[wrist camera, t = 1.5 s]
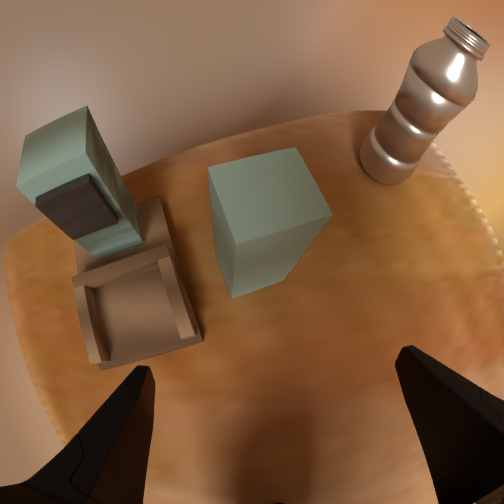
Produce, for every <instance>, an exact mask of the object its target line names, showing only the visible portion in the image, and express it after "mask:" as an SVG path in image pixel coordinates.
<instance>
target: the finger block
mask: <svg viewBox="0 0 504 504" xmlns="http://www.w3.org/2000/svg"><path fill="white" fill-rule="evenodd" d="M208 179H209V190H210V201H211V212H212V222H213V232H214V241H215V251H216V256H217V259H218V262H219V265H220V267H221V270H222V273H223V276H224V279H225V281H226V284H227V287H228V290H229V293H230V295H231V298H232V299H233V298H236V297H239V296H242V295H245V294H247V293H250V292H253V291H256V290H259V289H262V288H264V287H267V286H270V285H273V284H276V283H278V282H281V281H283V280H284V279H285V278H286V276H287V275H288V274H289V273H290V271H291V270H292V269H293V267H294V266H295V265H296V263H297V262H298V261H299V260H300V258H301V257H302V256H303V254H304V253H305V252H306V250H307V249H308V248H309V246H310V245H311V244H312V242H313V241H314V240H315V238H316V237H317V236H318V234H319V233H320V231H321V230H322V229H323V227H324V226H325V225H326V223H327V222H328V221H329V219H330V218H331V216H332V215H333V214H332V212H331V210H330V208H329V206H328V204H327V202H326V200H325V198H324V196H323V194H322V192H321V191H320V189H319V187H318V185H317V183H316V181H315V180H314V178H313V176H312V174H311V172H310V171H309V169H308V167H307V165H306V164H305V162H304V160H303V158H302V157H301V155H300V153H299V151H298V150H297V148H296V147H292V148H287V149H282V150H277V151H273V152H268V153H263V154H259V155H255V156H250V157H246V158H242V159H238V160H234V161H230V162H226V163H222V164H218V165H214V166H211V167H208Z"/></svg>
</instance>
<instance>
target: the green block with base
mask: <svg viewBox="0 0 504 504" xmlns="http://www.w3.org/2000/svg"><path fill="white" fill-rule="evenodd" d="M17 188H18V189H19V190H20V191H21V192H22V193H23V194H24V195H25V196H26V197H27V198H29V200H30V201H31V202H32V203H34V205H35V206H36V207H37V208H38V209H39V210H40V211H41V212H42V213H43V214H44V215H45V216H47V217H48V218H49V219H50V220H51V221H52V222H53V223H54V224H55V225H56V226H58V227H59V228H60V229H61V230H62V231H63V232H64V233H66V234H67V235H68V236H69V237H70V238H71V239H73V240H74V246H75V255H76V263H77V271H78V275H77V276H74V277H72V281H73V288H74V294H75V300H76V305H77V310H78V315H79V320H80V325H81V329H82V333H83V338H84V342H85V346H86V349H87V353H88V357H89V360H90V364H98V366H99V370H105V369H109V368H113V367H117V366H121V365H125V364H128V363H132V362H136V361H140V360H143V359H147V358H150V357H154V356H157V355H161V354H164V353H167V352H171V351H174V350H177V349H181V348H184V347H187V346H190V345H193V344H197V343H200V342H203V338H202V335H201V332H200V329H199V326H198V324H197V321H196V318H195V315H194V312H193V309H192V306H191V303H190V300H189V296H188V293H187V290H186V287H185V284H184V281H183V277H182V274H181V271H180V267H179V264H178V261H177V257H176V254H175V250H174V247H173V243H172V239H171V236H170V232H169V228H168V225H167V221H166V217H165V213H164V209H163V205H162V202H161V199H160V196H159V197H156V198H153V199H150V200H147V201H144V202H141V203H138V204H136V203H135V201H134V199H133V197H132V196H131V194H130V192H129V190H128V188H127V186H126V184H125V183H124V181H123V179H122V177H121V175H120V173H119V171H118V169H117V167H116V165H115V163H114V161H113V159H112V157H111V155H110V153H109V152H108V150H107V147H106V145H105V143H104V141H103V139H102V137H101V135H100V133H99V131H98V128H97V127H96V124H95V122H94V120H93V118H92V115H91V113H90V111H89V109H88V106H86V107H83V108H81V109H79V110H76V111H74V112H72V113H69V114H67V115H65V116H63V117H61V118H59V119H57V120H55V121H53V122H51V123H49V124H47V125H45V126H43V127H41V128H39V129H37V130H35V131H34V132H32V133H30V134H28V135H26V136H25V140H24V145H23V149H22V155H21V160H20V166H19V172H18V179H17Z"/></svg>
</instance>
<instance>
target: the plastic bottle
mask: <svg viewBox="0 0 504 504" xmlns="http://www.w3.org/2000/svg"><path fill="white" fill-rule="evenodd" d="M443 32H444V33H445V36H444V37H443V38H440V39H436V40H433V41H429V42H427V43H425V44H422V45H421V46H419V47H418V48H417V49H416V50H415V51H414V52H413V54H412V57H411V59H410V62H409V65H408V68H407V71H406V74H405V76H404V79H403V82H402V85H401V87H400V89H399V91H398V93H397V95H396V98H395V99H394V101H393V103H392V105H391V106H390V108H389V109H388V110H387V112H386V113H385V114H384V116H383V117H382V118H381V120H380V121H379V122H378V124H377V125H376V126H375V127H374V128H372V129H371V130H370V132H369V133H368V134H367V135H366V136H365V138H364V140H363V142H362V145H361V148H360V159H361V163H362V166H363V168H364V170H365V171H366V172H367V174H368V175H369V176H370V177H372V178H373V179H374V180H376V181H377V182H380V183H382V184H386V185H395V184H399V183H401V182H403V181H404V180H406V179H407V178H408V177H410V176H411V174H412V173H413V171H414V170H415V168H416V167H417V165H418V163H419V161H420V158H421V157H422V155H423V154H424V153H425V151H426V150H427V148H428V147H429V145H430V144H431V142H432V141H433V139H434V138H435V137H436V136H437V135H438V134H439V132H441V131H442V130H443V129H444V128H445V126H446V125H447V124H448V123H449V122H450V121H451V120H452V119H453V118H455V117H456V116H457V115H458V114H459V113H460V112H461V111H462V110H464V109H465V108H466V107H467V106H468V105H469V104H470V103H471V102H472V101H473V100H474V98H475V95H476V92H477V88H478V87H477V86H478V76H477V67H476V63H477V60H480V61H482V60H483V58H484V54H485V53H486V51H487V50H488V48H489V46H490V44H489V43H488V42H487V41H486V40H485V39H484V38H483V37H482V36H481V35H480V34H478V33H477V32H476V31H475V30H473V29H472V28H471V27H469V26H468V25H467V24H465V23H464V22H462V21H460V20H459V19H457V18H455V17H452V18H451V19H450V21H449V23H448V25H447V27H445V28H444V30H443Z"/></svg>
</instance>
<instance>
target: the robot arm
mask: <svg viewBox="0 0 504 504" xmlns="http://www.w3.org/2000/svg"><path fill="white" fill-rule="evenodd" d="M395 368H396V371H397V374H398V378H399V381H400V385H401V388H402V392H403V395H404V399H405V402H406V404H407V407H408V409H409V412H410V415H411V417H412V420H413V423H414V426H415V428H416V431H417V434H418V437H419V440H420V442H421V445H422V448H423V451H424V454H425V457H426V461H427V464H428V467H429V470H430V473H431V477H432V480H433V484H434V488H435V491H436V495H437V499H438V503H439V504H473V503H476V504H504V401H503V400H501V399H500V398H498V397H496V396H494V395H492V394H490V393H489V392H487V391H485V390H484V389H482V388H481V387H478V386H477V385H476V384H474V383H473V382H471V381H469V380H468V379H466V378H465V377H463V376H461V375H460V374H458V373H457V372H455V371H453V370H452V369H450V368H448V367H447V366H445V365H444V364H442V363H440V362H439V361H437V360H436V359H434V358H432V357H431V356H429V355H428V354H426V353H424V352H423V351H421V350H419V349H418V348H416V347H415V346H413V345H409V346H405V347H403V348H402V349H401V351H400V353H399V355H398V357H397V360H396V362H395ZM154 401H155V380H154V378H153V375H152V372H151V369H150V367H149V366H142V365H138V366H136V367H135V369H134V370H133V371H132V372H131V373H130V374H129V375H128V376H127V377H126V379H125V380H124V381H123V382H122V383H121V384H120V385H119V386H118V388H117V389H116V390H115V391H114V392H113V393H112V394H111V395H110V397H109V398H108V399H107V400H106V401H105V402H104V403H103V405H102V406H101V407H100V408H99V409H98V410H97V411H96V412H95V414H94V415H93V416H92V417H91V418H90V419H89V420H88V422H87V423H86V424H85V425H84V426H83V427H82V428H81V429H80V431H79V432H78V433H77V434H76V435H75V436H74V437H73V438H72V440H71V441H70V442H69V443H68V444H67V445H66V446H65V447H64V448H63V449H62V450H61V451H60V452H59V453H58V454H57V455H56V456H55V457H54V458H53V459H52V460H51V461H49V463H47V464H46V465H45V466H44V467H43V468H41V469H40V470H39V471H38V472H37V473H36V474H34V475H33V476H32V477H31V478H29V479H28V480H26V481H24V482H22V483H19V484H14V485H8V486H2V487H0V504H143V497H144V488H145V480H146V472H147V465H148V457H149V451H150V444H151V438H152V431H153V422H154ZM277 504H284V503H277Z"/></svg>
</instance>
